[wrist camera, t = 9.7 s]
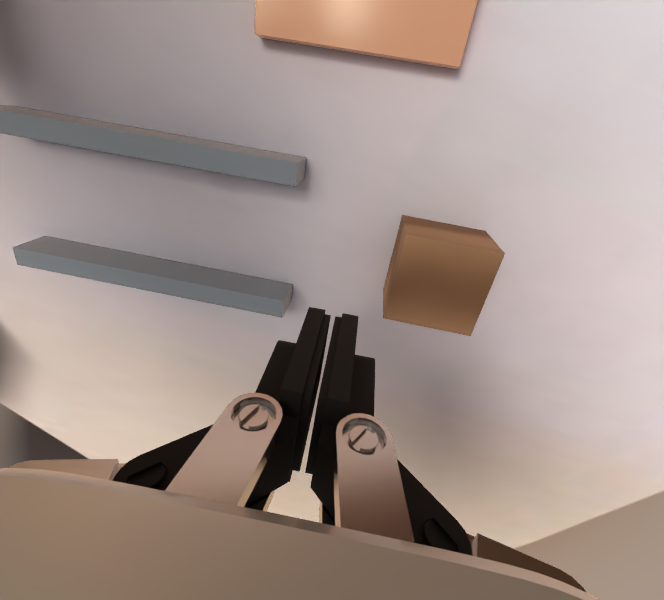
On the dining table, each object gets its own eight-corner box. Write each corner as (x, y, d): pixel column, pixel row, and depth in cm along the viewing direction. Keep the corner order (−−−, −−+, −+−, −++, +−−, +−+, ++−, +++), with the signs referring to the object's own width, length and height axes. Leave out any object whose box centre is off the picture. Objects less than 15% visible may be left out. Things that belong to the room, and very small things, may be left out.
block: (402, 214, 22) (405, 234, 18) (485, 230, 21) (504, 253, 18) (383, 287, 24) (383, 317, 20) (457, 303, 24) (470, 336, 20)
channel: (13, 105, 21) (-30, 104, 19) (306, 157, 21) (296, 162, 18) (48, 251, 26) (17, 264, 24) (291, 299, 25) (282, 317, 23)
